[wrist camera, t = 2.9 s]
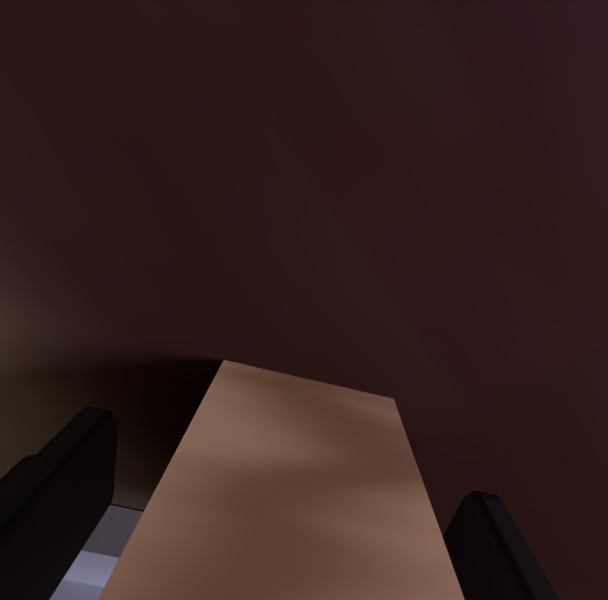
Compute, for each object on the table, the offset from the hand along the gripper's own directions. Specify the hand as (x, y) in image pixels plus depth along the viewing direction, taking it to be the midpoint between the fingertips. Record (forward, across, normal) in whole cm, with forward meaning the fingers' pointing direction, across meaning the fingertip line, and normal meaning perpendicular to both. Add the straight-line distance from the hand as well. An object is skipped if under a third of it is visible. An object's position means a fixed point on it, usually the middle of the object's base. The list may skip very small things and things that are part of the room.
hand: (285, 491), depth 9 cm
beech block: (+2, 0, 0) cm, 2 cm away
